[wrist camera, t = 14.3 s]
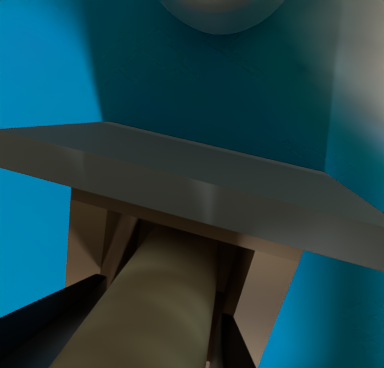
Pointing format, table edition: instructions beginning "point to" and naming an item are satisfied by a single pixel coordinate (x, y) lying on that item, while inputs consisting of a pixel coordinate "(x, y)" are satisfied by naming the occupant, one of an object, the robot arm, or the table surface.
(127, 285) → the dowel
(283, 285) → the block
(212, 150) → the track
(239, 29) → the plastic bottle
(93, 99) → the table surface
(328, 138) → the table surface
